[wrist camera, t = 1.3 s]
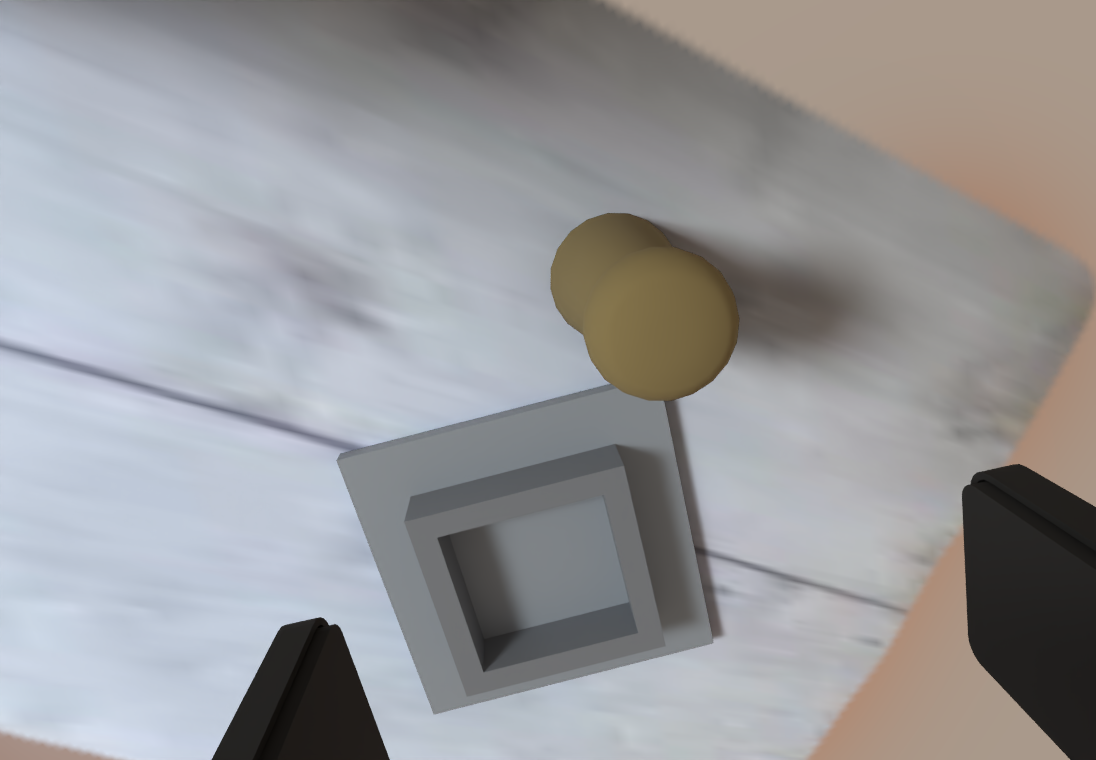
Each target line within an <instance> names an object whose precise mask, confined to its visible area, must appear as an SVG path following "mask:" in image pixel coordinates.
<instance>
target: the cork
mask: <svg viewBox="0 0 1096 760" xmlns="http://www.w3.org/2000/svg"><path fill="white" fill-rule="evenodd" d="M551 292H552V295H553V298H554V301H555V305H556V308H557V309H558V311H559V312H560V313H561V315H562V316H563V318H564V319H565V321H566V322H567V323H568V324H569V325H570V326H572V327H573V328H574V329H576V330H577V331H579V332H580V333H581V334H583V336H584V339H585V343H586V346H587V349H588V353H589V356H590V358H591V361H592V362H593V364H594V365H595V366H596V368H597V369H598V371H599V372H600V373H601V375H602V376H603V378H604V379H605V380H606V381H608V382H609V383H611V384H612V385H613V386H615V387H616V388H618V389H619V390H620V391H622V392H623V393H626V394H629V395H632V396H635V397H638V398H641V399H645V400H648V401H672V400H675V399H678V398H682V397H685V396H688V395H691V394H694V393H695V392H697V391H698V390H700V389H701V388H703V387H704V386H706V385H707V384H709V383H710V382H712V381H713V380H714V379H715V378H716V376H717V375H718V374H719V373H720V372H721V371H722V369H723V368H724V367H725V366H726V365H727V363H728V361H729V359H730V357H731V354H732V352H733V350H734V348H735V345H736V343H737V337H738V327H739V315H738V310H737V306H736V301H735V297H734V294H733V292H732V290H731V288H730V287H729V285H728V283H727V282H726V280H725V278H724V277H723V275H722V273H721V272H720V271H719V270H717V269H716V268H715V267H714V266H713V265H711V264H710V263H709V262H708V261H706V260H705V259H704V258H703V257H701V256H698V255H695V254H693V253H690V252H687V251H684V250H681V249H679V248H676V247H672V245H671V244H670V243H669V241H668V240H667V238H666V237H665V235H664V234H663V233H662V232H661V231H660V230H658V229H657V228H656V227H655V226H653V225H652V224H651V223H650V222H649V221H647V220H645V219H642V218H639V217H636V216H634V215H631V214H624V213H607V214H603V215H600V216H597V217H594V218H591V219H588V220H586V221H585V222H583V223H582V224H581V225H579V226H578V227H576V228H575V229H574V230H572V231H571V232H570V233H569V234H568V236H567V237H566V238H565V240H564V241H563V242H562V244H561V245H560V246H559V248H558V250H557V252H556V255H555V258H554V261H553V264H552V267H551Z"/></svg>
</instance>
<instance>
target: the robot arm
mask: <svg viewBox="0 0 1096 760" xmlns="http://www.w3.org/2000/svg"><path fill="white" fill-rule="evenodd" d="M962 506H963V529H964V552H965V573H966V596H967V620H968V637H969V643H970V646H971V649H972V651H973V653H974V655H975V657H976V658H977V660H978V661H979V663H980V664H981V665H982V666H983V667H984V668H985V670H986V671H988V673H989V674H990V675H991V676H992V677H993V678H994V679H995V680H996V681H997V682H998V683H999V684H1000V685H1001V686H1002V688H1003V689H1004V690H1005V691H1006V692H1007V693H1008V694H1009V695H1010V696H1011V697H1012V698H1013V699H1014V700H1015V701H1016V702H1017V703H1018V704H1019V706H1021V708H1022V709H1023V710H1024V711H1025V712H1026V713H1027V714H1028V715H1029V716H1030V717H1031V718H1032V719H1033V720H1034V721H1035V723H1036V724H1037V725H1038V726H1039V727H1040V728H1041V729H1042V730H1043V731H1044V732H1045V733H1046V734H1047V735H1048V736H1049V737H1050V738H1051V739H1052V740H1053V741H1054V743H1055V744H1056V745H1057V746H1058V747H1059V748H1060V749H1061V750H1062V751H1063V752H1064V753H1065V754H1066V755H1067V756H1068V758H1070V760H1096V507H1094V506H1093V505H1091V504H1089V503H1088V502H1086V501H1084V500H1082V499H1081V498H1079V497H1077V496H1076V495H1074V494H1072V493H1070V492H1069V491H1067V490H1065V489H1063V488H1061V487H1060V486H1058V485H1056V484H1055V483H1053V482H1051V481H1050V480H1048V479H1046V478H1044V477H1043V476H1041V475H1039V474H1037V473H1036V472H1034V471H1032V470H1031V469H1029V468H1027V467H1025V466H1023V465H1020V464H1016V465H1010V466H1005V467H1000V468H996V469H991V470H987V471H982V472H978V473H976V474H975V475H974V476H973V478H972V480H971V485H967V486H965V487H964V489H963V491H962ZM212 760H390V759H389V757H388V754H387V751H386V749H385V746H384V743H383V741H382V738H381V735H380V732H379V730H378V727H377V724H376V722H375V719H374V716H373V714H372V711H371V708H370V706H369V703H368V700H367V698H366V695H365V692H364V689H363V687H362V684H361V681H360V679H359V676H358V673H357V671H356V668H355V665H354V663H353V660H352V657H351V655H350V652H349V649H348V647H347V644H346V641H345V638H344V636H343V633H342V631H341V629H340V627H339V626H338V625H336V624H334V625H328V623H327V621H326V620H325V619H324V618H321V617H319V618H315V619H310V620H306V621H301V622H297V623H292V624H287V625H284V626H282V627H281V628H280V630H279V631H278V633H277V635H276V637H275V638H274V640H273V642H272V644H271V646H270V648H269V650H268V652H267V654H266V656H265V658H264V660H263V662H262V664H261V665H260V667H259V669H258V671H257V673H256V675H255V677H254V679H253V681H252V683H251V685H250V687H249V689H248V691H247V692H246V694H245V696H244V698H243V700H242V702H241V704H240V706H239V708H238V710H237V712H236V714H235V716H234V718H233V719H232V721H231V723H230V725H229V727H228V729H227V731H226V733H225V735H224V737H223V739H222V741H221V743H220V745H219V746H218V748H217V750H216V752H215V754H214V756H213V758H212Z"/></svg>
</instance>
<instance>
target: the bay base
mask: <svg viewBox="0 0 1096 760" xmlns="http://www.w3.org/2000/svg"><path fill="white" fill-rule="evenodd" d="M337 463H338V466H339V468H340V471H341V473H342V476H343V479H344V481H345V484H346V486H347V489H348V492H349V494H350V497H351V500H352V502H353V505H354V507H355V510H356V513H357V515H358V518H359V520H360V523H361V526H362V528H363V531H364V533H365V536H366V539H367V541H368V544H369V546H370V549H371V552H372V554H373V557H374V559H375V562H376V565H377V567H378V570H379V572H380V575H381V578H382V580H383V583H384V586H385V588H386V591H387V593H388V596H389V599H390V601H391V604H392V606H393V609H394V612H395V614H396V617H397V619H398V622H399V625H400V627H401V630H402V632H403V635H404V638H405V640H406V643H407V645H408V648H409V651H410V653H411V656H412V659H413V661H414V664H415V666H416V669H417V672H418V674H419V677H420V679H421V682H422V685H423V687H424V690H425V692H426V695H427V698H428V700H429V703H430V705H431V708H432V711H433V713H434V714H438V713H442V712H446V711H449V710H453V709H457V708H461V707H465V706H469V705H473V704H477V703H481V702H485V701H489V700H493V699H496V698H500V697H504V696H508V695H512V694H516V693H520V692H524V691H528V690H532V689H536V688H540V687H544V686H547V685H551V684H555V683H559V682H563V681H567V680H571V679H575V678H579V677H583V676H587V675H591V674H595V673H598V672H602V671H606V670H610V669H614V668H618V667H622V666H626V665H630V664H634V663H638V662H642V661H646V660H649V659H653V658H657V657H661V656H665V655H669V654H673V653H677V652H681V651H685V650H689V649H693V648H696V647H700V646H704V645H708V644H712V643H713V638H712V633H711V628H710V623H709V618H708V613H707V608H706V603H705V599H704V594H703V589H702V584H701V579H700V574H699V569H698V564H697V559H696V554H695V550H694V545H693V540H692V535H691V530H690V525H689V520H688V515H687V510H686V505H685V501H684V496H683V491H682V486H681V481H680V476H679V471H678V466H677V461H676V457H675V452H674V447H673V442H672V437H671V432H670V427H669V422H668V417H667V412H666V408H665V403H664V401H648V400H645V399H641V398H638V397H635V396H632V395H629V394H626V393H623V392H622V391H620V390H619V389H618V388H616V387H615V386H613V385H612V384H609V385H605V386H601V387H597V388H593V389H589V390H585V391H582V392H578V393H574V394H570V395H566V396H562V397H558V398H554V399H551V400H547V401H543V402H539V403H535V404H531V405H527V406H523V407H520V408H516V409H512V410H508V411H504V412H500V413H496V414H492V415H489V416H485V417H481V418H477V419H473V420H469V421H465V422H461V423H458V424H454V425H450V426H446V427H442V428H438V429H434V430H430V431H427V432H423V433H419V434H415V435H411V436H407V437H403V438H399V439H396V440H392V441H388V442H384V443H380V444H376V445H372V446H368V447H365V448H361V449H357V450H353V451H349V452H345V453H341V454H340V455H339V457H338V459H337Z"/></svg>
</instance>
